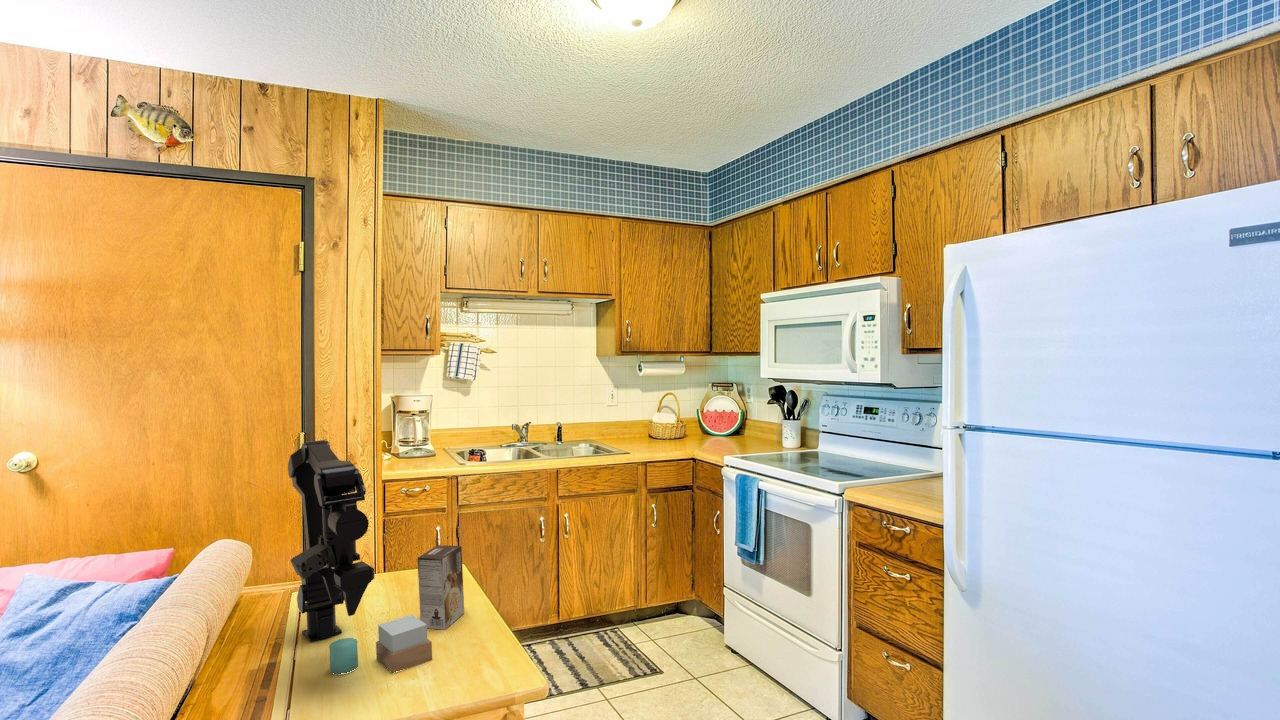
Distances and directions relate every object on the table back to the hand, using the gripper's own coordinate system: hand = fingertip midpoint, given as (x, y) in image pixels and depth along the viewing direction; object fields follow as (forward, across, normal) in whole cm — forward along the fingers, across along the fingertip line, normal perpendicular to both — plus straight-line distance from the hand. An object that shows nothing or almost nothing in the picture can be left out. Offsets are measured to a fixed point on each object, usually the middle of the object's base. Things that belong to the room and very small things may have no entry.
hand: (342, 608), depth 132 cm
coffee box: (+12, -7, +24) cm, 28 cm away
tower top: (+8, +5, +10) cm, 14 cm away
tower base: (+12, +5, +10) cm, 16 cm away
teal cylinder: (+12, 0, 0) cm, 12 cm away
